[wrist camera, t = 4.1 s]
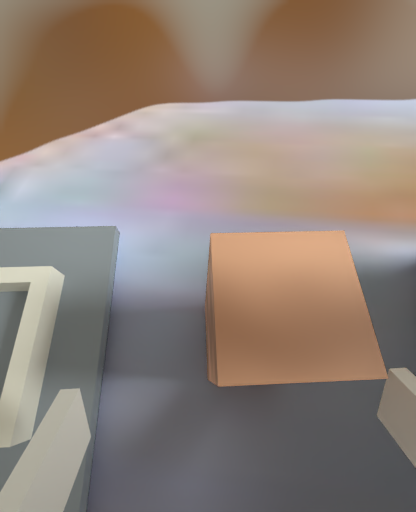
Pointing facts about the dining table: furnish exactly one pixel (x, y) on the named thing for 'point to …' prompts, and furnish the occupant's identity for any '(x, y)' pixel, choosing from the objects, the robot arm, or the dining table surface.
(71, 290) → the baseplate
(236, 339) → the pillar
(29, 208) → the dining table surface
